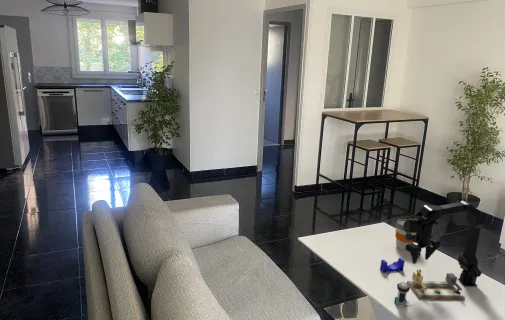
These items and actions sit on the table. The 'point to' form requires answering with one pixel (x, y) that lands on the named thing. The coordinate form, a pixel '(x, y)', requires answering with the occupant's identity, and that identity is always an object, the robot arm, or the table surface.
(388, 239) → the table surface
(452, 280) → the fixed leg
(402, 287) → the push button
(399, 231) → the reusable coffee cup
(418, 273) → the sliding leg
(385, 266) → the cable clip
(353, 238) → the table surface
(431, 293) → the board
